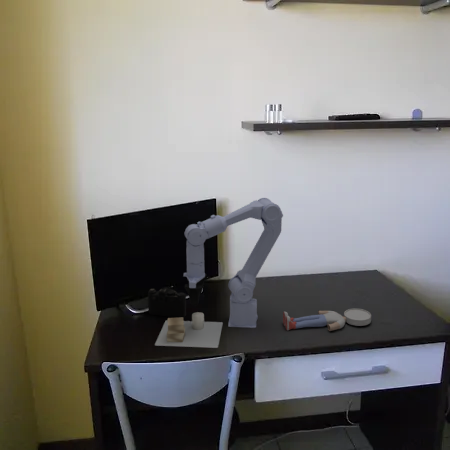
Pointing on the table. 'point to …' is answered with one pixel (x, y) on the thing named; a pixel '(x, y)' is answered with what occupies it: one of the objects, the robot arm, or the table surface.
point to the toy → (328, 319)
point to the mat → (194, 335)
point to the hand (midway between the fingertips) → (196, 299)
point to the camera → (166, 303)
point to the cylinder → (198, 321)
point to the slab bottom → (176, 337)
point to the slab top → (175, 325)
